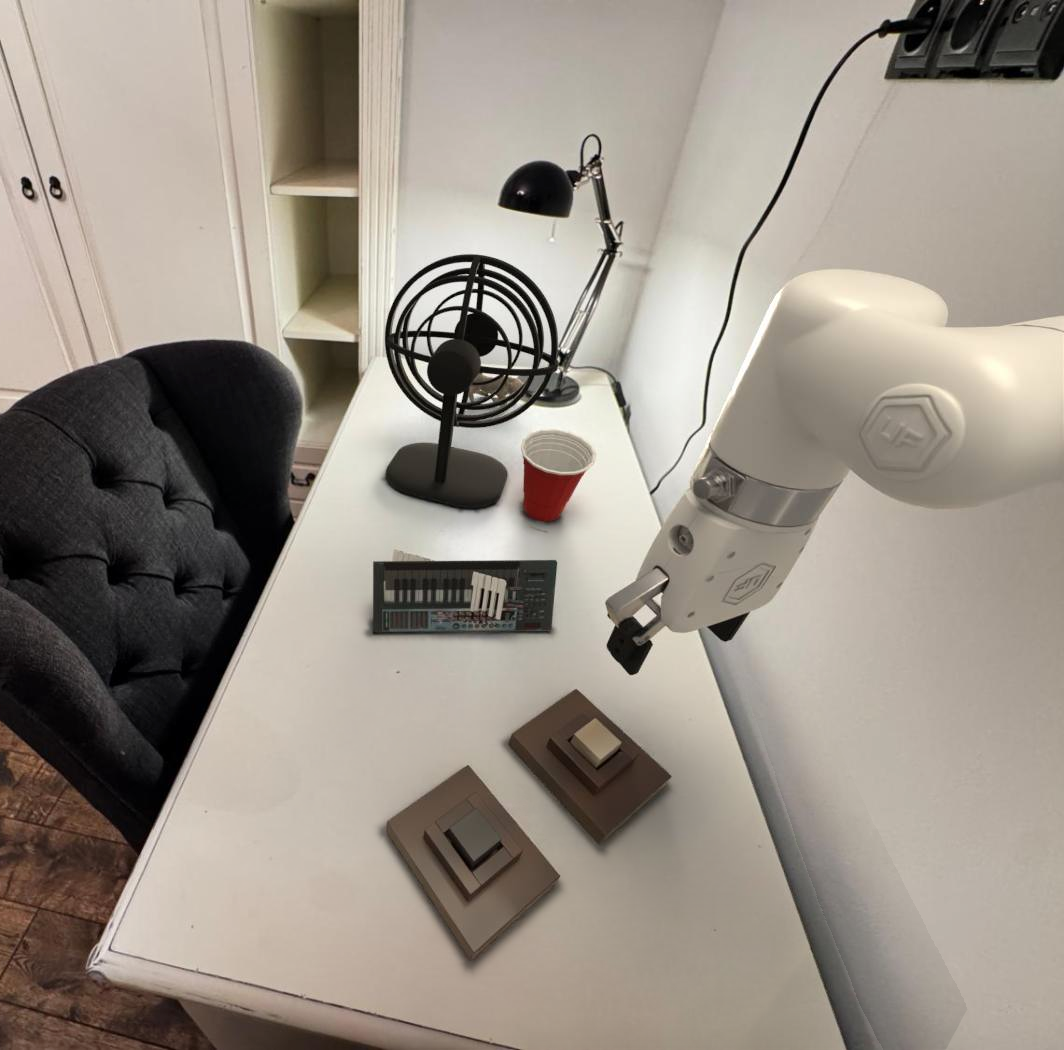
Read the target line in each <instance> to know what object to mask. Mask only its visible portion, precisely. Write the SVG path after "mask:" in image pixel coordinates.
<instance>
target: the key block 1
mask: <svg viewBox="0 0 1064 1050" xmlns="http://www.w3.org/2000/svg"><path fill="white" fill-rule="evenodd" d="M475 808H478V810H479V811H480V812H481V813H482V815H483V816H484V817H485V818H486V820H487V821H488V822H489V824H490V825H491V826H492V827H493V829H494V830H495V831H496V832H497V834H498V835H499V836H500V837H501V839H502V840H501V842H500V845H499V847H498V848H497V849H496V850H494V851H493V852H492V853H491V854H490V855H488V856H487V857H486V858H485V859H483V860H482V861H481V862H480V863H478V864H477V865H476V866H475V867H473V868H472V869H471V868H470V867H469V865H468V864H467V862H466V861H465V860H464V858H463V857H462V856H461V854H460V853H459V851H458V850H457V849H456V847H455V846H454V844H453V843H452V842H451V840H450V839H449V838H448V831H449V828H450V827H451V826H452V825H454V824H455V823H456V822H458V821H459V820H460V819H462V818H463V817H464V816H466V815H467V814H468V813H470V812H471V811H472V810H474V809H475ZM385 831H386V833H387V835H388V836H389V838H390V840H391V841H392V843H393V844H394V845H395V847H396V849H397V850H398V852H399V853H400V855H401V857H402V858H403V860H404V861H405V862H406V864H407V866H408V867H409V869H410V870H411V872H412V874H413V875H414V877H415V878H416V879H417V881H418V882H419V884H420V886H421V888H422V889H423V891H424V892H425V893H426V895H427V896H428V898H429V899H430V901H431V902H432V904H433V906H434V907H435V909H436V910H437V911H438V913H439V915H440V916H441V918H442V919H443V921H444V923H445V924H446V925H447V927H448V928H449V929H450V932H451V933H452V935H453V936H454V938H455V939H456V941H457V942H458V944H459V945H460V947H461V948H462V950H463V951H464V953H465V954H466V956H467V958H468V959H469V960H470V961H472V960H473V959H474V958H476V957H477V956H478V955H479V954H480V953H481V952H483V950H485V948H487V947H488V946H489V945H490V944H491V943H492V942H493V941H495V940H496V939H497V938H498V937H499V936H500V935H501V934H503V932H504V931H505V930H507V929H508V928H509V927H510V926H512V924H514V922H516V921H517V920H518V919H519V918H520V917H521V916H523V914H525V913H526V912H527V911H528V910H529V909H530V908H531V907H532V906H534V905H535V904H536V903H537V902H538V901H539V900H540V899H541V898H542V897H543V896H544V895H546V894H547V893H548V892H549V891H550V890H551V889H553V888H554V886H555V885H556V884H557V882H558V881H559V879H560V878H561V874H559V873H558V871H557V870H556V869H555V867H554V866H553V865H552V864H551V863H550V861H549V860H548V859H547V858H546V856H544V854H543V853H542V852H541V850H540V849H539V848H538V847H537V846H536V845H535V843H534V842H533V841H532V839H530V837H529V836H528V834H526V832H525V831H524V830H523V828H521V826H520V825H519V824H518V823H517V822H516V820H515V819H514V818H513V817H512V815H511V814H510V813H509V812H508V810H507V809H505V807H504V806H503V805H502V803H501V802H500V801H499V800H498V798H497V797H496V796H495V795H494V794H493V793H492V791H491V790H490V789H489V787H488V786H486V784H485V783H484V782H483V780H482V779H481V777H479V776H478V775H477V773H476V772H475V771H474V769H472V767H471V766H470V764H466V766H464V767H462V768H461V769H460V770H458V771H457V772H455V773H454V774H452V775H451V776H450V777H448V778H446V779H445V780H444V781H443V782H441V783H439V785H437V786H436V787H434V788H433V789H431V790H430V791H428V792H427V793H425V794H424V795H422V796H421V797H420V798H418V799H417V800H416V801H414V802H413V803H411V804H410V805H408V806H407V807H406V808H404V809H403V810H401V811H400V812H399V813H397V814H396V815H394V816H393V817H391V818H390V819H389V820H387V821H386V828H385Z"/></svg>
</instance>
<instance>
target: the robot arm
mask: <svg viewBox="0 0 1064 1050" xmlns="http://www.w3.org/2000/svg"><path fill="white" fill-rule="evenodd" d="M948 317H949V310H948V305H947V303H946V302H945V300H944V299H943V298H942V296H941V295H940V294H939V293H937V292H936V291H934V290H932V289H930V288H928V287H926V286H925V285H923V284H921V283H918V282H915V281H912V280H909V279H906V278H902V277H899V276H896V275H890V274H886V273H882V272H881V273H880V272H875V271H868V270H861V269H850V268H827V269H818V270H811V271H807V272H804V273H802V274H800V275H797V276H795V277H794V278H791V279H790V280H789V281H788V282H786V284H785V285H784V286H783V287H782V288H781V289H780V290H779V291H778V292H777V293H776V295H775V297H774V298H773V300H772V302H771V304H770V306H769V307H768V309H767V312H766V314H765V316H764V318H763V320H762V323H761V325H760V326H759V329H758V331H757V333H756V335H755V337H754V340H753V342H752V344H751V346H750V348H749V351H748V353H747V355H746V357H745V359H744V361H743V363H742V366H741V368H740V370H739V373H738V375H737V376H736V378H735V381H734V383H733V385H732V386H731V390H730V392H729V393H728V396H727V398H726V400H725V402H724V404H723V407H722V408H721V411H720V413H719V416H718V417H717V420H716V422H715V424H714V425H713V428H712V431H711V433H710V435H709V437H708V440H707V441H706V444H705V446H704V448H703V450H702V451H701V454H700V456H699V459H698V461H697V463H696V464H695V465H696V466H695V467H694V469H693V472H692V474H691V476H690V479H689V488H688V489H686V490H685V491H684V493H683V494H682V495H681V497H680V498H679V499H678V501H677V503H675V505H674V507H673V508H672V510H671V512H670V513H669V514H668V516H667V517H666V519H665V521H664V523H663V525H662V526H661V527H660V529H659V530H658V532H657V535H656V537H655V538H654V540H653V542H652V544H651V545H650V547H649V549H648V550H647V553H646V555H645V557H644V559H643V561H642V563H641V565H640V567H639V570H638V573H637V575H636V578H635V580H634V581H633V582H632V583H630V584H628V585H627V586H624V587H623V588H622V589H620V590H618V591H617V592H615V593H614V594H612V595H610V596H609V597H608V598H606V600H605V603H604V604H605V608H606V612H607V617H608V618H609V620H610V621H611V622H612V623H613V624H614V627H613V630H612V631H611V633H610V636H609V638H608V640H607V642H606V645H605V646H606V650H607V651H608V652H609V654H610V656H611V657H612V658H613V660H615V661H616V663H618V664H619V665H620V666H621V667H622V668H623V670H624V671H625V672H626V673H627V674H628V675H629V676H635V675H637V674H639V672H640V671H641V668H642V666H643V665H644V662H645V661H646V659H647V657H648V655H649V653H650V651H651V649H652V647H654V644H653V641H652V640H651V639H652V638H654V637H655V636H656V635H657V634H658V633H659V632H660V631H662V630H663V629H664V628H665V627H667V629H668V630H669V631H670V632H671V633H678V634H684V633H691V632H695V631H698V630H701V629H704V628H707V629H708V630H709V631H710V632H711V633H713V634H714V636H715V637H717V638H718V639H719V640H720V641H721V642H724V643H726V642H730V641H732V640H733V639H734V637H735V636H736V634H737V633H738V631H739V629H741V627H742V626H743V623H744V622H745V621H746V620H747V618H748V617H749V615H750V613H751V612H752V611H756V610H758V609H761V608H763V607H764V606H766V605H767V604H769V603H770V602H772V601H773V599H774V598H775V596H776V595H777V594H778V592H779V591H780V589H781V587H782V586H783V584H784V583H785V582H786V580H787V578H788V576H789V574H790V573H791V571H792V570H793V568H794V567H795V564H796V563H797V561H798V559H800V556H801V554H802V553H803V551H804V549H805V547H806V546H807V543H808V542H809V540H810V538H811V536H812V534H813V532H814V530H815V527H816V525H817V523H818V520H819V518H820V515H822V513H823V512H824V510H825V508H826V507H827V506H828V505H829V503H830V501H831V499H832V498H833V497H834V495H835V494H836V492H837V491H838V489H839V488H840V487H841V485H842V483H843V482H844V480H845V479H846V477H847V476H848V474H849V473H850V472H851V471H852V473H854V474H855V475H856V476H857V477H858V478H860V479H861V480H862V481H864V483H866V484H868V485H869V486H870V487H872V488H873V489H874V490H876V491H877V492H880V493H881V494H883V495H885V496H887V497H889V498H891V499H893V500H896V501H898V502H900V503H903V504H906V505H910V506H913V507H919V508H923V509H930V510H960V509H968V508H973V507H979V506H984V505H985V506H986V505H988V504H993V503H996V502H999V501H1003V500H1006V499H1010V498H1013V497H1016V496H1020V495H1024V494H1026V493H1031V492H1034V491H1038V490H1040V489H1044V488H1047V487H1050V486H1053V485H1055V484H1058V483H1059V484H1060V483H1063V482H1064V315H1058V316H1051V317H1045V318H1039V319H1032V320H1027V321H1026V320H1025V321H1022V322H1016V323H1009V324H1004V325H997V326H996V325H995V326H963V327H962V326H959V327H956V326H955V327H954V326H953V327H952V326H947V324H948ZM660 594H661V597H660V603H659V602H658V601H657V600H656V599H655V597H657V596H659V595H660ZM645 606H646V607H647V608H649V610H650V611H652V612H653V614H654V615H656V616H655V617H652V618H651V620H649V621H648V622H647V623H646V624H645V625H644V626H643V625H642V624H641V623H640V622H639V621H638V619H637V618H635V616H634V615H635V614H636V613H638V612H639V611H641V609H642V608H643V607H645Z"/></svg>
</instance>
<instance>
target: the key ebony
mask: <svg viewBox="0 0 1064 1050" xmlns="http://www.w3.org/2000/svg"><path fill="white" fill-rule="evenodd" d="M448 838H449V839H450V840H451V842H452V843H453V844H454V846H455V847H456V849H457V850H458V851H459V853H460V854H461V856H462V857H463V858H464V860H465V861H466V862H467V864H468V865H469V867H470V868H471V869H472V868H473V867H475V866H476V865H477V864H478V863H480V862H481V861H482V860H483V859H485V858H486V857H487V856H488V855H490V854H491V853H492V852H493V851H494V850H496V849H497V848H498V847H499V845H500V842H501V840H502V839H501V837H500V836H499V835H498V834H497V832H496V831H495V830H494V829H493V827H492V826H491V825H490V824H489V822H488V821H487V820H486V818H485V817H484V816H483V815H482V813H481V812H480V811H479V810H478V808H475V809H474V810H472V811H471V812H470V813H468V814H467V815H466V816H464V817H463V818H462V819H460V820H459V821H458V822H456V823H455V824H454V825H452V826H451V827H450V828H449V831H448Z"/></svg>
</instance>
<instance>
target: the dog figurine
mask: <svg viewBox="0 0 1064 1050" xmlns="http://www.w3.org/2000/svg"><path fill="white" fill-rule="evenodd" d="M494 377H495V376H488V375H485V374H484V373H479V374H478V376H477V377H476V379H475V380H474V381H485V380H489V379H492V378H494ZM504 377H505V375H504V376H503V377H502V378H500V379H498V380H496V381H494V382H492V383H489V384H485V385H471V386H470V391H469V396H468V400H469V402H475V401H476V400H475V397H474V395H475V394H476V395H480V396H481V397H484V398H486V397H487V396H489V395H490V394H492V393H493V392H494V391H495V390H496V389H497V388H498V387H499V386H500V384H501V383H502V381H503V380H504ZM523 383H524V382H523V381H521V380H520V379H519V378H517V377H516V376H508V379H507V381H506V383H505V384H504V386H503V387H502V389H501V390H500V391H499V392H498V393H497V394H496V395H495V396H496V397H493V398H491V399H490V400H491V401H492V402H495V401H498V400H500V399H503V398H505V397H507V396H508V395H510V394H511V393H513V392H514V391H516V390H517V389H518V388H519V387H520V386H521V385H522V384H523ZM526 397H527V395H526V393H525V394H524V396H523V397H522V398H526ZM507 403H508V402H507ZM507 403H505V404H503V405H500V406H499V408H501V407H502V406H504V405H506V404H507Z"/></svg>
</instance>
